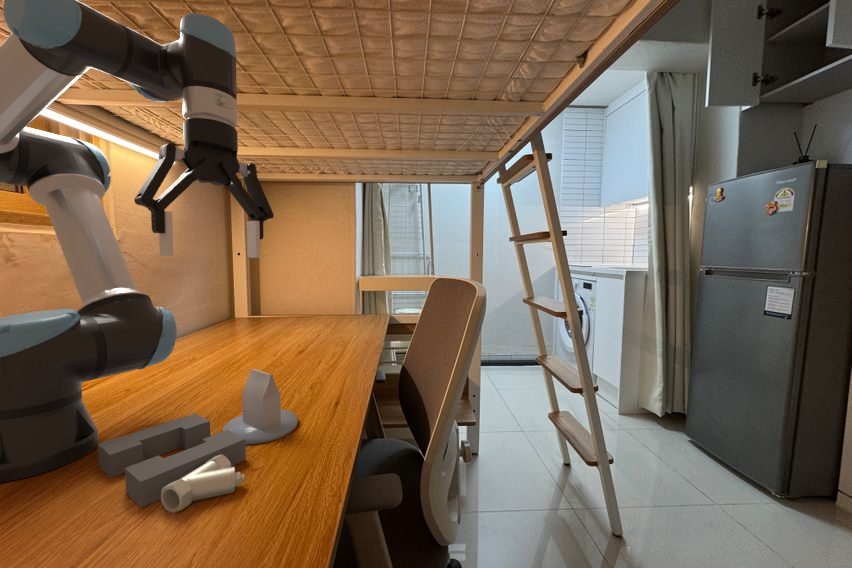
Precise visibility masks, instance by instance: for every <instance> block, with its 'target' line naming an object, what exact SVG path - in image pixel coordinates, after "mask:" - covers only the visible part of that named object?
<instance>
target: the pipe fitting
mask: <svg viewBox="0 0 852 568" xmlns="http://www.w3.org/2000/svg"><path fill="white" fill-rule="evenodd" d="M244 481H245V474H241V471H236V466H232V467H231V463H230V461H229V460H228V459H227V458H226V457H225V456H224V455H222V454H221V455H218V456H215V457H213V458H211V459H210V460H208V461H206V462H205V464H204V465H202V466H200V467H199V468H197V469H195V470H194V471H192V472H191V473H189V474H187V475H186V476H184V477H182V478H181V479H179V480H176V481H174V482H172V483H170V484H168V485H167V486H165V487H163V488H162V491H161V499H160V501H161V504H162V506H163V507H164V509H165V510H166V511H168V512H169V513H177V512H179V511H182V510H184V509H185V508H186V507H188V506H189V505H191V504H192V502H197V501H201V500H205V499H210V498H215V497H220V496H225V495H228V494H233V493H235V487H237V486H240V485H241V482H244Z"/></svg>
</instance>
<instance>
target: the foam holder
mask: <svg viewBox="0 0 852 568" xmlns="http://www.w3.org/2000/svg"><path fill="white" fill-rule="evenodd" d="M246 447H247V446H246V442H245V438H243V437H241V436H239V435H237V434H235V433H233V432H231V431H229V430H226V431H223V430H222V431H220V432H219V433H216V434H212V435H211V421H210V419H207V418H206V417H203V416H201V415H199V414H197V413H193V414H189V415H186V416H183V417H180V418H176V419H174V420H170V421H167V422H164V423H161V424H160V423H159V424H157V425H154V426H151V427H148V428H145V429H142V430H138V431H135V432H131V433H130V434H126V435H122V436H119V437H115V438H113V439H109V440H106V441H103V442H100V443H97V455H98V456H97V458H98V467H99V468H101V470H102V471H103V472H104V473H105V474H106V475H107V476H108V477H110V478H114V477H116V476H120V475H122V474H124V476H125V493H126V494H127V495H128V496H129V497H130V498H131V500H133V502H135V503H136V504H137V505H138V506H139V507H140V508H141V509H142V508H144V507H146V506H148V505H151V504H153V503H155V502H158V501H159V500H160V501H161V491H162V488H163V487H165V486H167V485H168V484H170V483H172V482H174V481H176V480H179V479H181V478H182V477H184V476H186V475H187V474H189V473H191V472H192V471H194V470H195V469H197V468H199V467H200V466H202V465H204V464H205V462H206V461H208V460H210V459H211V458H213V457H215V456H218V455H221V454H222V455H224V456H225V457H226V458H227V459H228V460H229V461H230V463H231V467H235V466H236V465H238V464H240V463H242V462H244V461H247V457H246V456H247V454H246V453H247V452H246V451H247V450H246ZM180 448H183V449H185V450H182V451H180V452H176V453H175V454H172V455H169V456H166V457H164V458H163V457H162V456H160V455H164V454H166V453H169V452H172V451H174V450H176V449H180Z"/></svg>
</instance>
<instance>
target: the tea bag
mask: <svg viewBox="0 0 852 568" xmlns="http://www.w3.org/2000/svg"><path fill="white" fill-rule="evenodd" d="M244 384H245V385H244V387H243V390H242V391H241V392H242V398H241V399H242V415H243V422H244V423H246V424H249V425H251V426H253V427H255V428H257V429H259V430H261V431H265V430H267V429H270V428H272V427H275V426H277V425H280V424H281V408H282V407H281V392H280V389H279V388H278V387H277V385H276V382H275V380H274V376H273V374H271V373H267V372H264V371H261V370H257V369H255V368H250V370H249V375H248V377H247V379H246V382H245V383H244Z"/></svg>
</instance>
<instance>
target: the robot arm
mask: <svg viewBox="0 0 852 568" xmlns="http://www.w3.org/2000/svg"><path fill="white" fill-rule="evenodd" d="M2 2H3V3H2V6H3V7H2V14H3V18H4V22H5V25H6V26H7V28H8V30H9V31H10V32H11V33H10V35H8V37H7V38H6V39H5V40H4V41H3V43H2V44H1V45H0V183H2V184H9V185H14V186H21V187H26V188H27V191H28V194H29V196H30V199H32V200H33V201H34V202H35V203H37V204H39V205H42V206H44V207H45V209H46V213H47V215H48V218H49V220H50V222H51V225H52V227H53V230H54V233H55V235H56V237H57V241H58V243H59V246H60V249H61V251H62V253H63V256H64V259H65V261H66V264H67V267H68V269H69V272H70V274H71V276H72V280H73V282H74V285H75V288H76V290H77V293H78V296H79V297H80V300H81V303H82V305H80V306H79V308H78V309H74V308H73V309H72V308H56V309H55V308H54V309H47V310H38V311H37V310H36V311H30V312H26V313H25V312H24V313H18V314H14V315H8V316H3V317H0V483H7V482H12V481H16V480H20V479H26V478H28V477H32V476H36V475H40V474H43V473H45V472H50V471H53V470H55V469H57V468H59V467H62V466H66V465H67V464H69V463H72V462H74V461H77V460H78V459H80V458H82V457H83V456H85V455H87V454H88V453H90V452H92V450H93V449H95V447H96V446H98V444H99V434H98V427H97V425H96V424H95V422H94V420H93V417H92V416H91V414H90V413H89V410H88V409H87V407H86V405H85V404H84V401H83V387H82V386H83V383H85V382H89V381H93V380H99V379H102V378H106V377H110V376H111V377H112V376H115V375H119V374H123V373H127V372H131V371H132V372H133V371H137V370H139V371H140V370H143V369H145V368H148V367H150V366H155V365H158V364H160V363H162V362H164V361H166V360H167V359H168V358H169V357H170V356H171V354H172V353H173V351H174V348H175V345H176V341H177V333H178V331H177V330H178V329H177V323H176V319H175V317H174V315H173V313H172V312H171V310H169V309H167V308H166V307H162V306H156V307H155V305H154V304H153V301H152V299H151V296H150V294H147V293H145V292H142V291H139V290H138V289H137V287H136V284H135V281H134V279H133V277H132V274H131V272H130V269H129V267H128V264H127V262H126V259H125V257H124V254H123V252H122V249H121V247H120V245H119V242H118V240H117V238H116V235H115V233H114V231H113V228H112V226H111V223H110V220H109V219H108V216H107V213H106V212H105V209H104V207H103V204H102V201H101V200H102V199H103V198H104V197H105V196H106V195H105V194H106V192H107V191H108V189H109V188H110V185H111V181H112V179H111V178H112V176H111V175H110V173H111V168H110V164H109V161H108V158H107V157H106V156H105V154H104V153H103V151H102V150H100V148H98V147H97V146H96V145H94V144H93V143H90V142H87V141H83V140H81V139H78V138H75V137H72V136H68V135H65V136H63V135H59V134H55V133H53V132H48V131H45V130H41V129H36V128H33V127H27V126H28V125H29V124H30V123H31V122H32V121H33V120H34V119H36V118H37V117H38V116H39V115H40V114H41V113H42V112H43V111H45V109H46V108H48V107H49V106H50V105H51V104H52V103H53V102H55V100H57V98H59V97H60V96H61V95H62V94H63V93H64V92H66V91H67V89H68V88H70V87H71V86H72V85H73V84H74V83H75V82H76V81H77V80H79V78H81V76H82V75H84V74H86V72H87V71H89V70H90V69H94V70H96V71H100V72H102V73H105V74H107V75H109V76H112V77H114V78H117V79H120V80H121V81H124V82H127V83H129V84H130V86H131V87H132V88H133V89H134V90H135V91H136V92H137V93H138V94H140V95H141V96H142V97H143V98H144V99H146V100H149V101H151V102H155V103H164V102H166V103H167V102H175V101H176V102H177V101H179V100H181V99H182V116H183V118H184V119H185V120H184V121H183V122H182V129H183V131H182V133H183V135H182V137H183V145H184V147H183V149H181V148H179V147H176V145H175V144H174V143H172V142H169V143H166V144H164V145H161V146H160V147H159V152H158V160H157V161H156V163H155V165H154V166H153V168H152V170H151V171H150V173H149V175H148V176H147V178H146V179H145V181H144V183H143V184H142V187H141V188H140V189H139V190H138V193H137V194H136V196H135V198H134V203H135V205H138V206H142V207H144V208H146V209H147V210H148V211H149V212H150V219H151V220H150V221H151V224H150V225H151V231H152V232H153V234H159V235H158V237H159V238H158V239H159V242H158V243H159V256H160V257H174V231H173V226H174V225H173V211H167V210H166V209H167V208H168V207H169V206H170V205H171V204H172V203H173V202H175V200H176V199H178V197H179V196H180V195H182V194H183V193H184V192H185V191H186V190H187V189H188V188H189V187H190V186H191V185H192V184H194V182H195V181H198V182H199V183H200V184H201V183H203V184H211V185H214V186H218V187H219V186H220V187H221V186H223V187H224V188H225V189H226V190H228V191H229V192H230V193H231V195H232V196H233V198H234V199H235V200H236V202H237V203H238V205H240V207H241V208H242V209H243V211H244V212H245V213H246V215H247V216H248V218H250V221H249V220H247V221H246V246H247V248H246V250H247V252H246V253H247V255H246V256H247V258H248V259H249V258H251V259H253V258H254V259H256V258H257V259H258V258H259V259H260V258H261V250H260V249H261V248H260V247H261V246H260V245H261V244H260V243H261V241H260V240H263V239H264V222H265V221H267V220H271V219H273V218H274V215H275V213H274V212H273V209H272V207H271V205H270V203H269V201H268V198H267V196H266V194H265V191H264V189H263V188H262V185H261V182H260V181H259V180H260V179H259V177H258V172H257V165H256V164H255V163H254V162H251V163H241V162H239V160H238V151H239V144H238V141H239V139H238V130H237V129H236V127H238V107H237V106H238V105H237V104H238V103H237V100H238V99H237V98H238V97H237V96H238V95H237V61H238V57H237V51H236V40H235V36H234V33H233V31H232V30H231V29H230V27H228V26H227V25H226V24H224V23H223V22H221V21H220V20H219V19H217V18H215V17H213V16H210V15H207V14H202V13H197V12H196V13H195V12H192V13H187V14H185V15H184V16H182V18H181V20H180V27H179V31H178V32H179V34H180V37H179V39H178V40H174V41H172V42H169V43H165V44H161V43H158V42H157V41H154V40H153V39H152V38H149V37H147V36H146V35H144V34H141V33H140V32H138V31H136V30H134V29H132V28H130V27H128V26H126V25H125V24H122V23H121V22H119V21H116V20H115V19H113V18H111V17H110V16H107V15H106V14H104V13H101V12H100V11H97V10H96V9H94V8H92V7H91V6H88V5H87V4H85V3H83V2H81V1H79V0H3V1H2ZM180 159H181V160H182V161H183V163H184V165H185V166H186V167H187V169H186V170H185V171H183V173H182V174H181V175H180V176H179V178H177V179H176V180H175V181H174V182H173V183H172V184H171V185H169V186H168V188H166V189H165V190H164V191H163V192H162V193H161V194H160V195H159V196H158V197H157V198H156V199H154V197H155V196H156V194H157V193H158V191H159V189H160V187H161V185H162V184H163V182H164V180H165V179H166V178H167V175H168V174H169V172H170V170H171V169H172V167H173V166H174V163H175V162H178V161H179V160H180ZM238 172H239V174H240V176H242V178H243V181H244V184H245V186H246V188H247V190H248V192H247V190H246V189H245V187H244V186H243V183H242V181H241V179H240V178H239V177H238V175H237V173H238ZM249 194H250V195H249Z"/></svg>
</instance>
